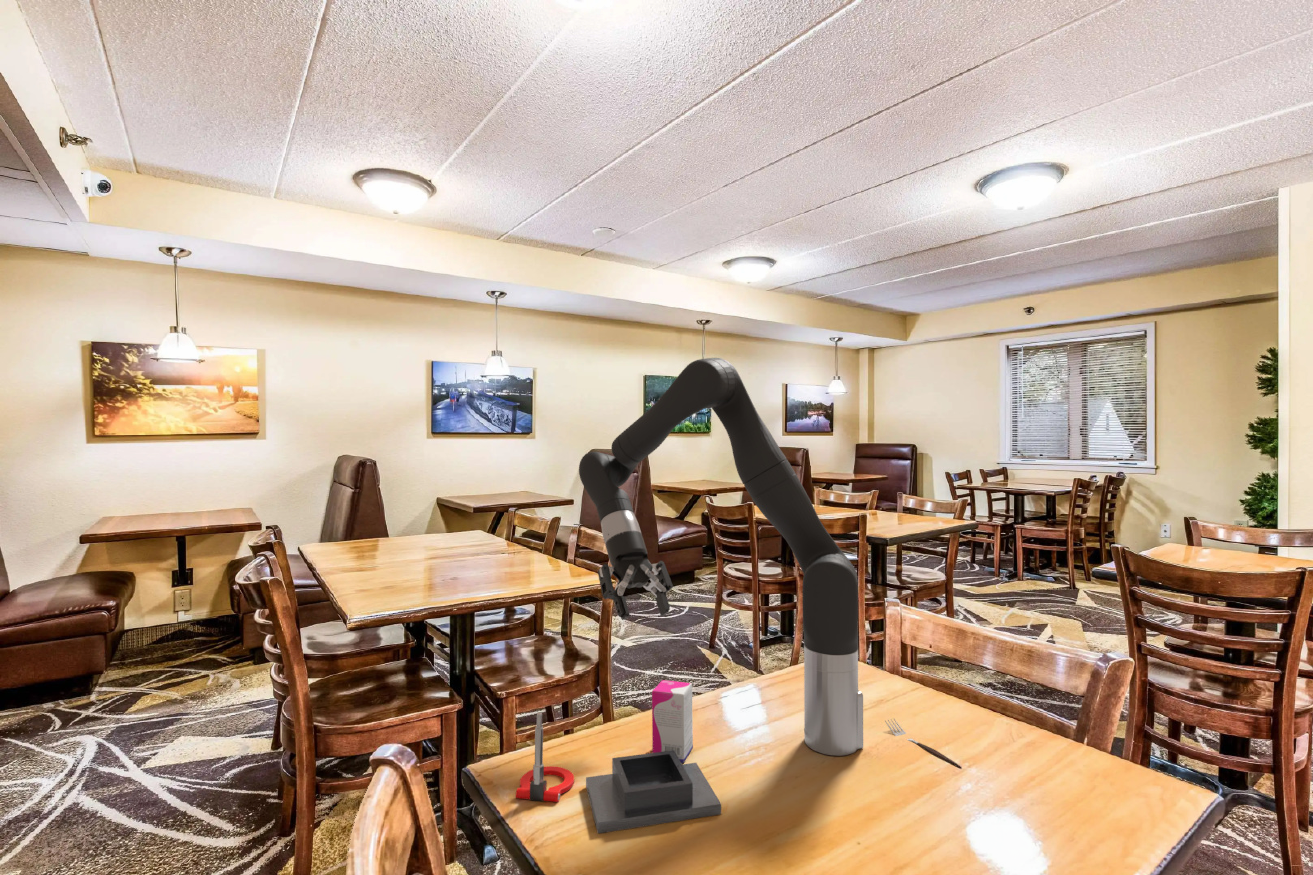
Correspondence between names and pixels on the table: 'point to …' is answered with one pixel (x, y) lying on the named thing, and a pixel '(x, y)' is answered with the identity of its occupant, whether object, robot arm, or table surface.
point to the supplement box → (672, 718)
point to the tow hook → (538, 785)
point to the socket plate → (649, 792)
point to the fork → (921, 744)
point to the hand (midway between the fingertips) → (646, 615)
